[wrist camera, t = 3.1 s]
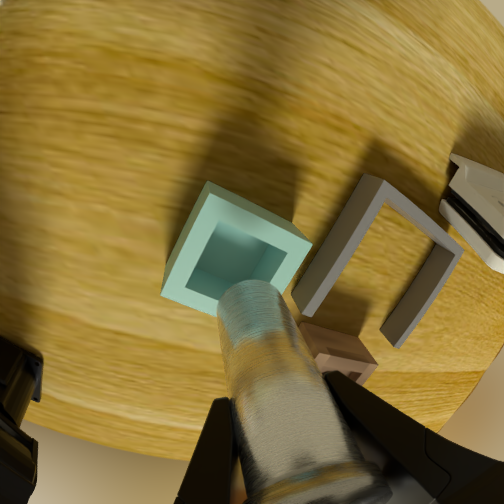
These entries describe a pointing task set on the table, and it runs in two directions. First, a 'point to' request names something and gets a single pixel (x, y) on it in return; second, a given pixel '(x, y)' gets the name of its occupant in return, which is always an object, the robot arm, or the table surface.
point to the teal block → (230, 249)
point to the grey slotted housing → (478, 209)
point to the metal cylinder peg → (287, 409)
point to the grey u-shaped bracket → (349, 237)
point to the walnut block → (338, 352)
